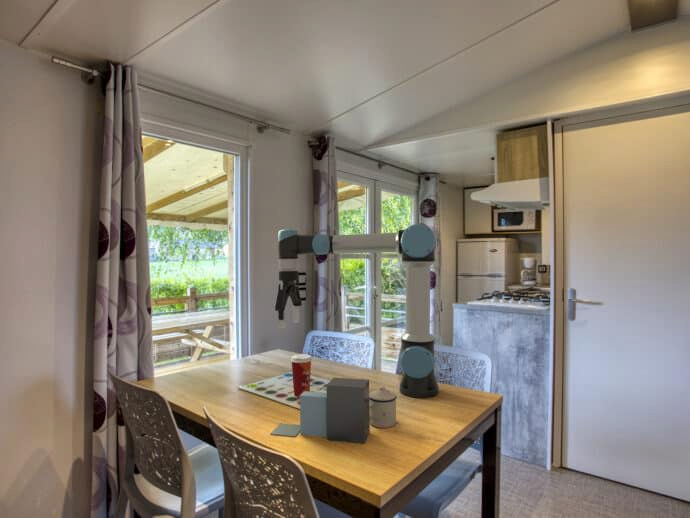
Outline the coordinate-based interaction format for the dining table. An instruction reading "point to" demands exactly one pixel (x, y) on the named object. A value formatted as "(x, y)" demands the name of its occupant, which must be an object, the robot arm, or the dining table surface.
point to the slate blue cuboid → (313, 414)
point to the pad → (286, 430)
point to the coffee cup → (301, 373)
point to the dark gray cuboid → (348, 410)
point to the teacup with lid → (382, 408)
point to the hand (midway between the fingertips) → (289, 325)
